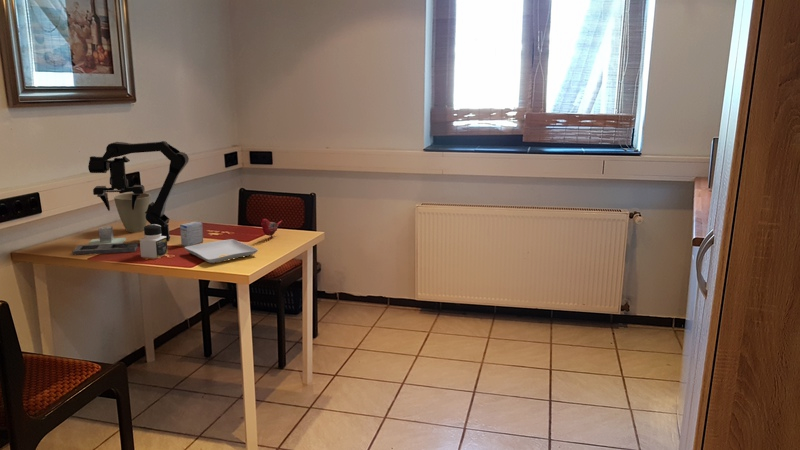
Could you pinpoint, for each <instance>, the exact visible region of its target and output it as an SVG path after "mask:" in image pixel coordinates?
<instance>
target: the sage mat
mask: <svg viewBox="0 0 800 450" xmlns="http://www.w3.org/2000/svg"><path fill="white" fill-rule="evenodd" d="M126 240H127V237H114V240H113V242H112V243H100V238H92V239H91V240H89V243H87V245H94V244H115V243H126V242H125V241H126Z"/></svg>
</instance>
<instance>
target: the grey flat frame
mask: <svg viewBox="0 0 800 450" xmlns="http://www.w3.org/2000/svg"><path fill="white" fill-rule="evenodd" d="M138 247H139V242H137V241H135V242H124V243H115V244H94V245H88V244H77V246H76V247H75V248H74V249H73V250H72V256H82V255H83V256H85V255H101V254H102V255H103V254H119V253H120V254H122V253H135V252H136V251H137V249H138Z"/></svg>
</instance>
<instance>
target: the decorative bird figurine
mask: <svg viewBox="0 0 800 450" xmlns="http://www.w3.org/2000/svg"><path fill="white" fill-rule="evenodd" d="M282 222H283V220H280V221H279V222H277V223H276V222H274V221H270V220H269V219H267V218H263V219H261V223H260V225H261V228H262V231H263V233H264V235H266V236H269V237H268V238H267V239H266V240H268V241H269V240H271V239H272V238H273V235H274V234H275V233H276V232H277V231H278V228H279V226H280V225H281V223H282Z"/></svg>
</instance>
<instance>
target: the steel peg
mask: <svg viewBox="0 0 800 450" xmlns="http://www.w3.org/2000/svg"><path fill="white" fill-rule="evenodd" d="M113 228H114V227H113V225H106V226H105V225H104V226H100V227H99V228H98V235H99V236H98V237H99V238H98V239H100V243H112V242H113V240H114V238H115V237H114V229H113Z"/></svg>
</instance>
